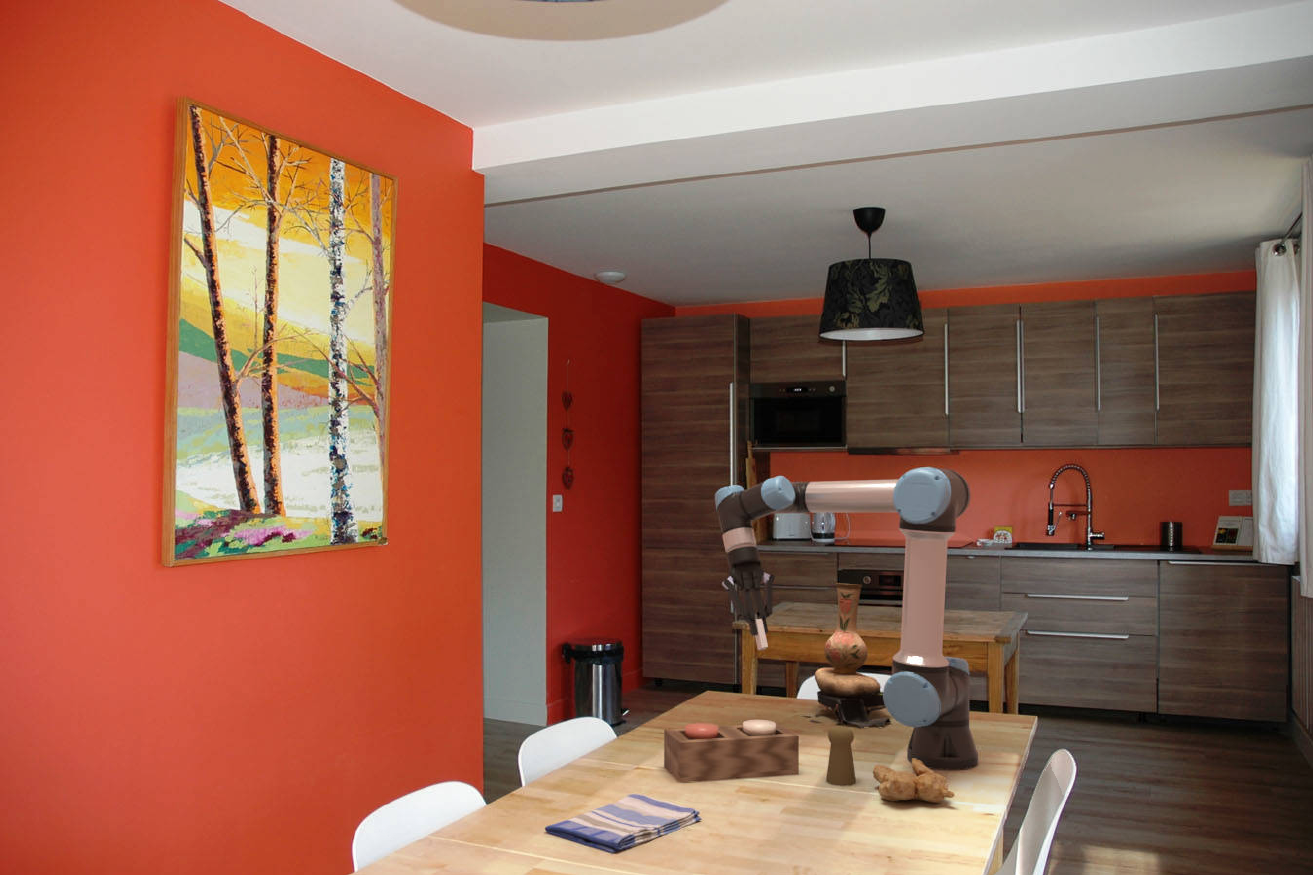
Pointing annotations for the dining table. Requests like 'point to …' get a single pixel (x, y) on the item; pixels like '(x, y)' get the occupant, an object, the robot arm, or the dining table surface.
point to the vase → (848, 668)
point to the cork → (840, 757)
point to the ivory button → (759, 727)
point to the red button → (701, 731)
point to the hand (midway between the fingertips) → (763, 648)
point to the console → (731, 754)
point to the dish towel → (625, 823)
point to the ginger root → (912, 784)
